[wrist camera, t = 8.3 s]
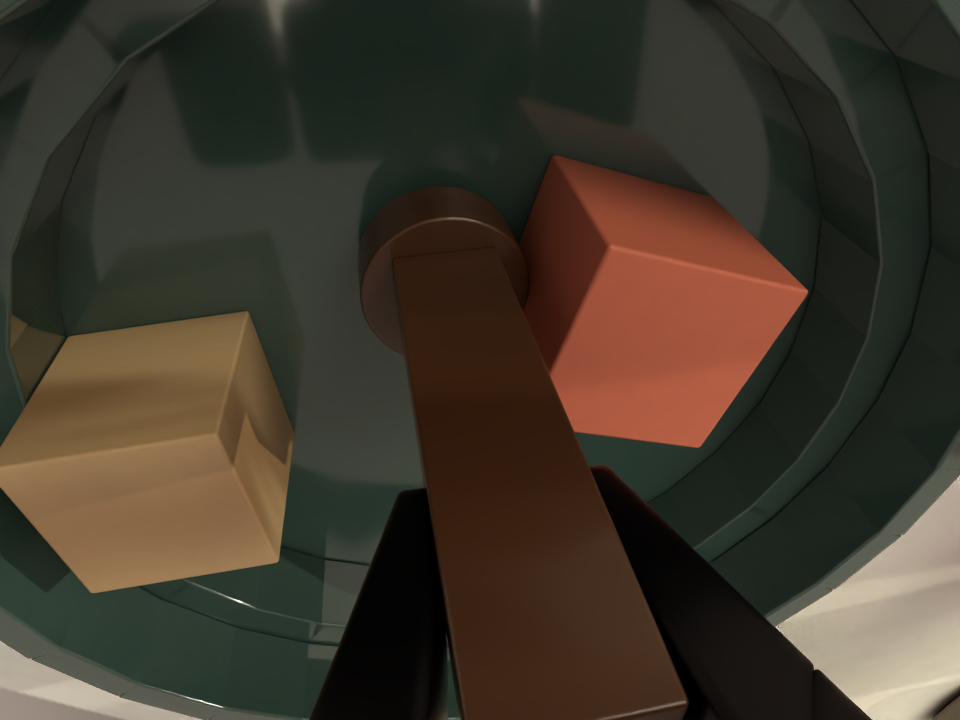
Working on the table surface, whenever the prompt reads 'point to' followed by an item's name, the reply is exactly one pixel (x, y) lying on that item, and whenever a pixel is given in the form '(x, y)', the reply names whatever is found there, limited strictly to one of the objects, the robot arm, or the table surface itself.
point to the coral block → (647, 302)
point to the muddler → (507, 479)
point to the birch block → (155, 453)
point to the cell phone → (950, 711)
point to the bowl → (513, 190)
